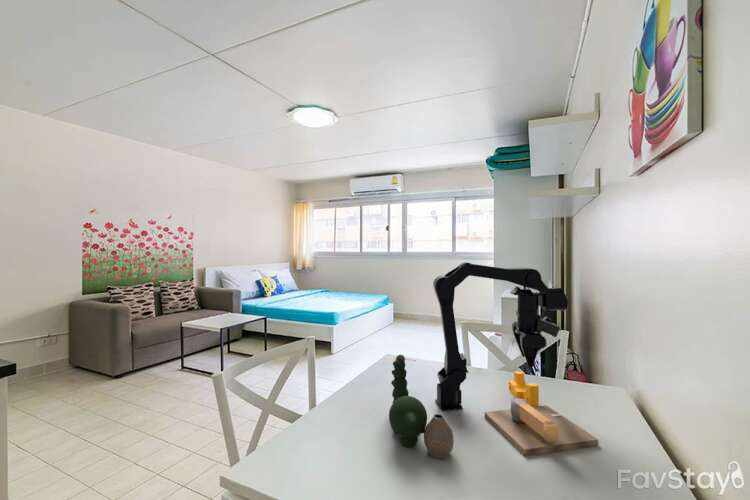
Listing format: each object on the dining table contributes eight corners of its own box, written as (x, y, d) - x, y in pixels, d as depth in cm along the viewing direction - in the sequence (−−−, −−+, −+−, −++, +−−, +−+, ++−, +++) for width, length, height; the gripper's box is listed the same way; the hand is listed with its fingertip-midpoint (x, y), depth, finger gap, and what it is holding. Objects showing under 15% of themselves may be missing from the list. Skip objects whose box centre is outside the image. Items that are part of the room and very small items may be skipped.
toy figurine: (383, 416, 99) (392, 461, 75) (382, 351, 101) (391, 374, 76) (415, 415, 100) (434, 460, 75) (413, 350, 102) (432, 373, 77)
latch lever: (507, 411, 92) (507, 398, 92) (521, 409, 93) (521, 397, 93) (547, 444, 77) (547, 429, 77) (564, 441, 78) (563, 426, 78)
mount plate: (524, 455, 77) (524, 444, 77) (484, 417, 95) (484, 407, 95) (598, 445, 81) (598, 434, 81) (546, 410, 99) (546, 401, 99)
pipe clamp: (508, 390, 113) (508, 371, 113) (521, 390, 113) (521, 371, 113) (524, 407, 101) (524, 386, 101) (538, 407, 101) (538, 386, 101)
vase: (455, 447, 81) (455, 411, 81) (452, 465, 74) (451, 426, 74) (426, 442, 83) (426, 407, 83) (421, 459, 76) (421, 421, 76)
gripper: (567, 317, 90) (566, 375, 90) (548, 305, 108) (548, 354, 108) (522, 315, 92) (522, 371, 92) (511, 304, 110) (511, 351, 110)
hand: (527, 361), depth 101 cm, fingers open, 9 cm apart
